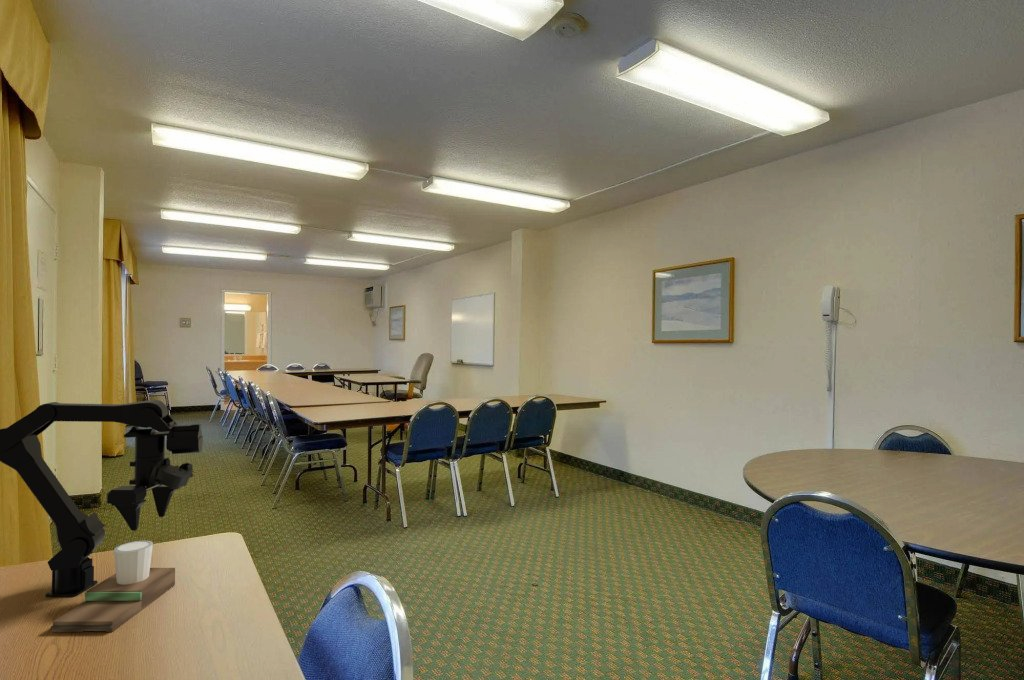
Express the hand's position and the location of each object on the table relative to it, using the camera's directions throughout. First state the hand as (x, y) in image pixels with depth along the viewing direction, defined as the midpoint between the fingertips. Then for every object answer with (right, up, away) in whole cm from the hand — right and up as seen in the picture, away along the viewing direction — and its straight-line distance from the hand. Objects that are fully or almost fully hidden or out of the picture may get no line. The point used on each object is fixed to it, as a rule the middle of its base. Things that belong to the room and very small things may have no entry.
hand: (148, 523), depth 120 cm
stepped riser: (+3, -13, -12) cm, 18 cm away
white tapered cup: (+3, -9, -8) cm, 13 cm away
